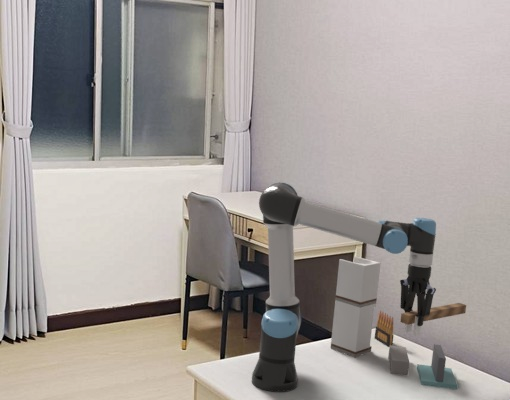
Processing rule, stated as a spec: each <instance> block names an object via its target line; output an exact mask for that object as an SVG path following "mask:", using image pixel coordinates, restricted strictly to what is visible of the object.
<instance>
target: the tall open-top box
mask: <svg viewBox="0 0 510 400" xmlns="http://www.w3.org/2000/svg"><path fill="white" fill-rule="evenodd" d="M353 258H354V259H353V261H350V260H345V259H342V258H340V259H339V261H338V268H337V269H338V270H337V281H336V291H335V299H334V301H335V302H334V310H333V311H334V312H333V320H332V331H331V338H330V339H331V341H330V349H331V350H334V351H337V352H339V353H342V354H344V353H345V355H347V356H351V357H353V358H357V357H360V356H363V355H366V354H368V353H371V352H372V346H371V341H372V329H373V320H374V312H375V308H376V307H377V301H378V300H377V299H378V291H379V289H378V288H379V281H380V273H381V272H380V271H381V262H380V261H379V262H378V261H375V260H371V259H366V258H363V257H359V256H354V257H353Z"/></svg>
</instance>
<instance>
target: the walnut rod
mask: <svg viewBox="0 0 510 400" xmlns="http://www.w3.org/2000/svg"><path fill="white" fill-rule="evenodd" d="M466 311H467V304H465V303H464V304H463V303H461V302H456V303H451V304H444V305H440V306H434V307H431V310H430V315H429V316H424V320H423V322H427V321H433V320H438V319H442V318H447V317H453V316H458V315H463V314H464V315H465V314H466ZM416 315H417V310H413V311H411V312H406V313H405V312H402V313H401V315H400V323H402V324H404V325H405V324H407V325H408V324H412V325H414V323H415V316H416Z"/></svg>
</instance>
